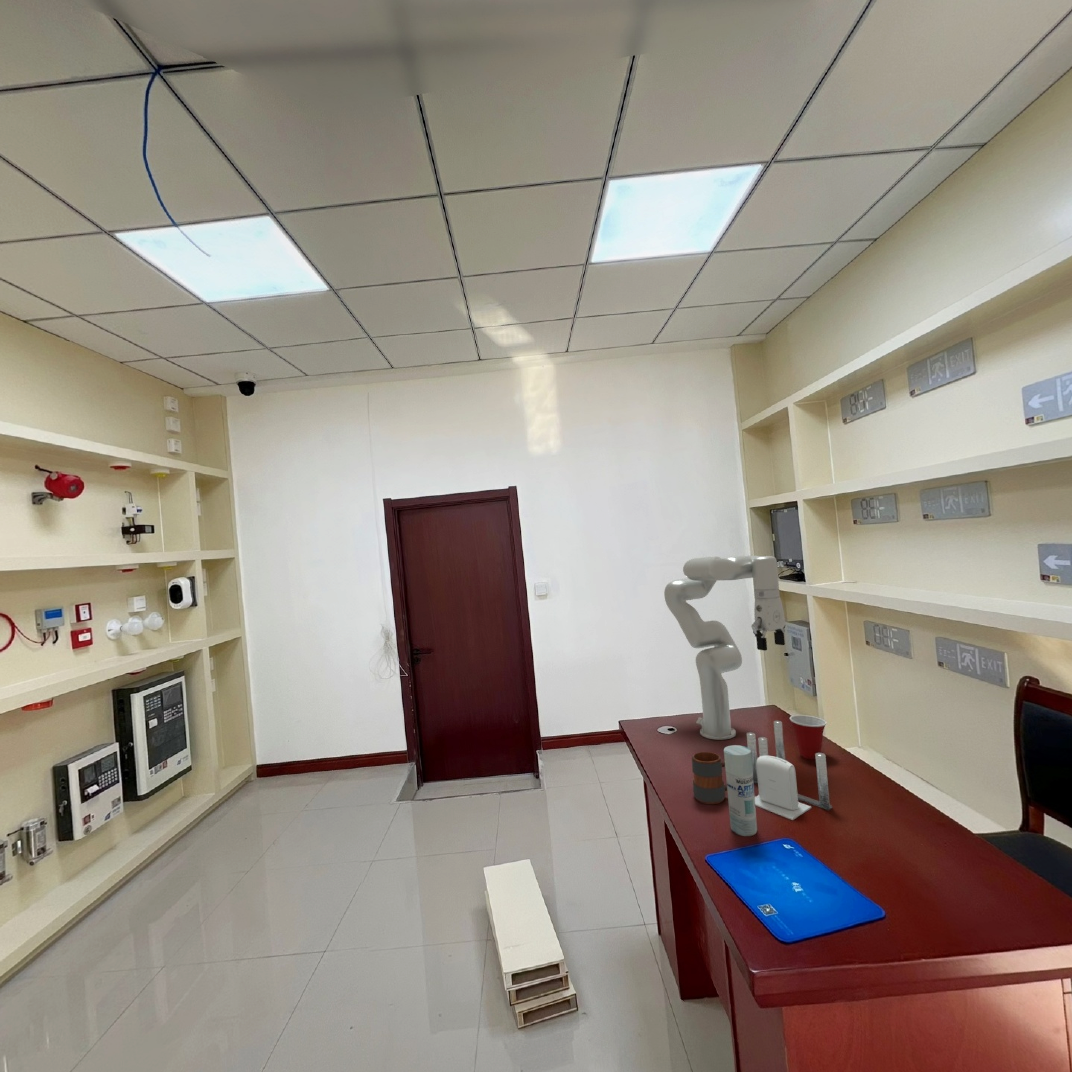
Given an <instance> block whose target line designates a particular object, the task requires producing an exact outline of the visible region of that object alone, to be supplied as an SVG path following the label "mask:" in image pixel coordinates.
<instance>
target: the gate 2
mask: <svg viewBox="0 0 1072 1072" xmlns="http://www.w3.org/2000/svg"><path fill="white" fill-rule="evenodd" d="M757 741H758V754H759V757H760V756H769V748H768V738H767V737H764V736H760V737H758V738H757ZM815 757H816V759H815V765H816V777H817V788H818V800H817V799H814V798H811V797H807V796H805V795H803V794H799V793H798V801H801V802H804V803H806V804H809V805H812V806H814V807H818V808H820V809H823V810H826V811H830V810H831V809H833V805H832V804H830V793H829V783H828V782H829V781H828V771H827V758H826V757H827V756H826V754H825V753H822V752H821V753H816V754H815Z"/></svg>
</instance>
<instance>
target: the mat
mask: <svg viewBox="0 0 1072 1072" xmlns="http://www.w3.org/2000/svg"><path fill="white" fill-rule="evenodd" d="M755 807H757V808H760V809H763V810H766V811H768V812H770V813H771V812H772V813H773V814H776V815H779V816H780V817H784V818H786V819H788V820H791V821H794V820H795V819H797V818H798V817H800V816H802V815H803V814H804V813H806V812H807V811H810V810H811V809H812V806H811V805H807V804H805V803H802V802H799V801H798V808H797V809H795V810H790V809H787V808H784V807H780V806H777V805H774V804H771V803H769V802H766V801H763V800H761V799H760V797H759V794H758V795H757V796H756V795H755Z"/></svg>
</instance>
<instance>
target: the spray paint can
mask: <svg viewBox="0 0 1072 1072" xmlns="http://www.w3.org/2000/svg"><path fill="white" fill-rule="evenodd" d="M723 756H724V762H725V767H724V768H725V778H726V784H727V791H726V792H727V800H728V810H729V811H728V813H729V822H730V828H731V829H730V831H732V833H734V834H735V835H739V836H742V837H752V836H754V835H756V834H757V832H758V824H757V811H756V810H757V809H756V806H755V797H756V795H755V783H753V770H752V757H751V750H750V749H749V748H748V746H744V745H738V744H737V745H736V744H734V745H728V746H725V747H724V749H723Z"/></svg>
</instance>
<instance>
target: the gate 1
mask: <svg viewBox="0 0 1072 1072" xmlns="http://www.w3.org/2000/svg"><path fill="white" fill-rule="evenodd" d="M773 730H774V731H773V733H774V745H775V755H776V756H775V757H778V758H781V759H783V760H786V754H785V753H786V752H785V743H784V733H783V731H784V730H783V722H782V721H781V720H774V721H773ZM756 739H757V738H756V733H754V732H750V731H749V732H746V742H747V743H746V744H747V748H749V749H750V750H751V757H752V770H753V783H754V784H757V785H758V778H757V767H756V762H757V759H758V754H757V753H758V752H757V751H758V750H757V740H756Z"/></svg>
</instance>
